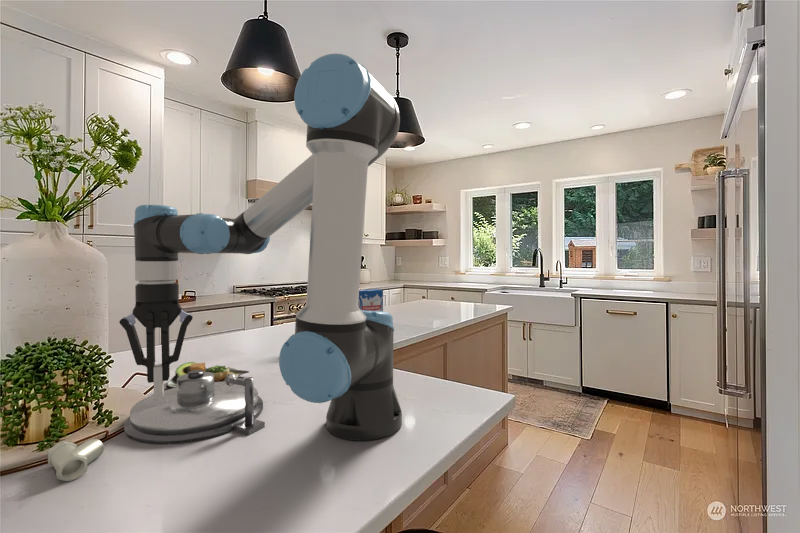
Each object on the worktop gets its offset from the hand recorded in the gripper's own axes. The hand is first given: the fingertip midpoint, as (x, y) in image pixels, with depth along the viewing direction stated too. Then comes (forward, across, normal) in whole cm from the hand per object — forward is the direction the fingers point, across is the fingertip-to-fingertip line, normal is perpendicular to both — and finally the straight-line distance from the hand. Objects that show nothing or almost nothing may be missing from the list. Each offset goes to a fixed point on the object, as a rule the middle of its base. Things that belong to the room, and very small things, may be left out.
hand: (158, 396), depth 82 cm
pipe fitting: (+5, +10, +15) cm, 19 cm away
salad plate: (+6, -8, -25) cm, 27 cm away
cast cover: (+2, -7, 0) cm, 7 cm away
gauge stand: (+5, -15, +10) cm, 19 cm away
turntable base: (+5, -7, 0) cm, 9 cm away
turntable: (+4, -7, 0) cm, 8 cm away
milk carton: (+5, -68, -54) cm, 87 cm away
